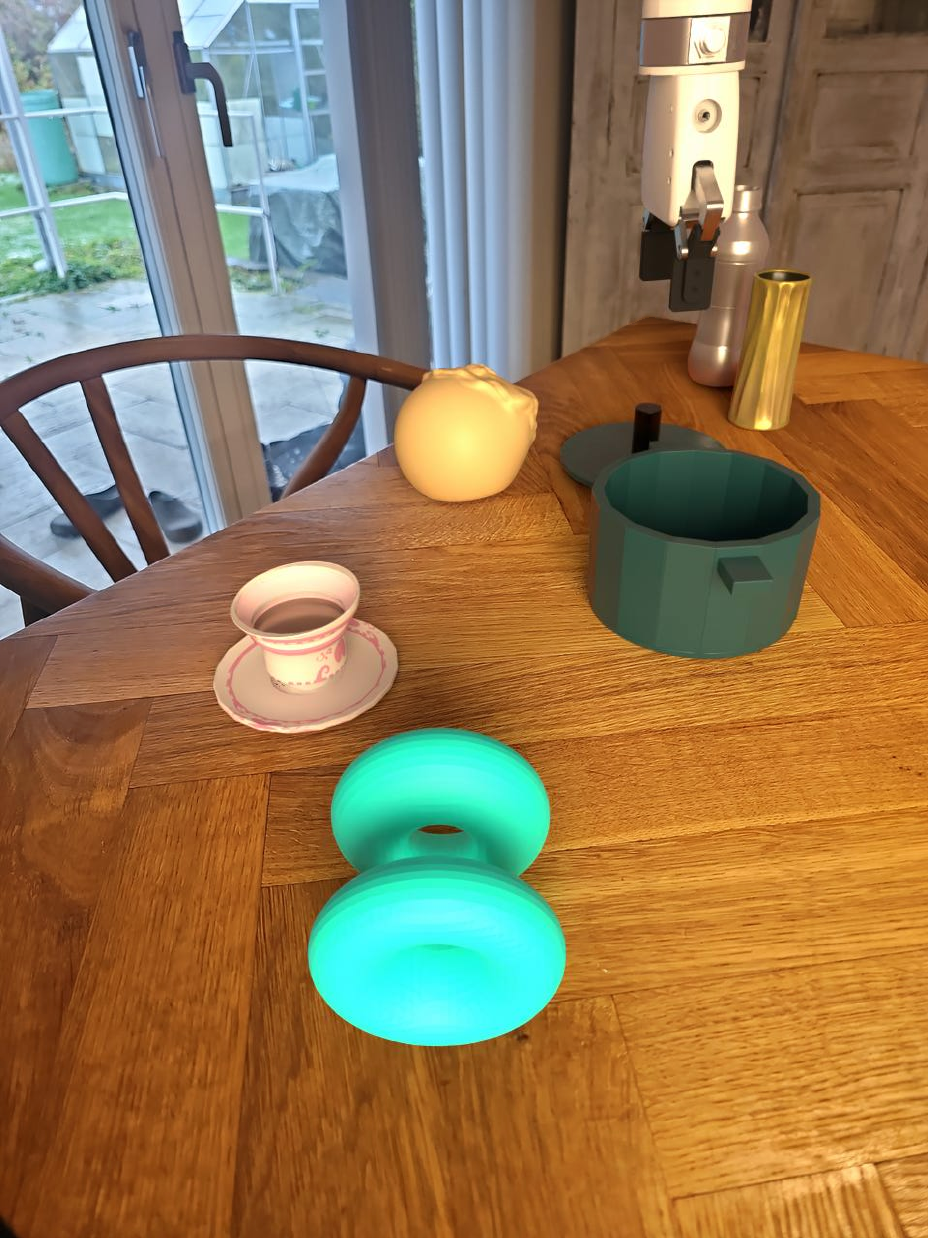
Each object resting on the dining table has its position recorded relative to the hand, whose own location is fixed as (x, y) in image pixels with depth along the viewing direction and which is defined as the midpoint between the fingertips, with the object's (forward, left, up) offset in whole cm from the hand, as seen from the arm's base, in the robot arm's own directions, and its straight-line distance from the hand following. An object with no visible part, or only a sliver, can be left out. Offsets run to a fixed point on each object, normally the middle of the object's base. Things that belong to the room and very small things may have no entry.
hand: (672, 293), depth 71 cm
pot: (+3, +22, -15) cm, 27 cm away
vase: (-13, -9, -16) cm, 22 cm away
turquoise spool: (+22, +49, -16) cm, 56 cm away
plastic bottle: (-12, -20, -16) cm, 28 cm away
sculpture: (+18, +2, -16) cm, 24 cm away
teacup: (+30, +28, -16) cm, 44 cm away
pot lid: (+1, 0, -15) cm, 15 cm away
